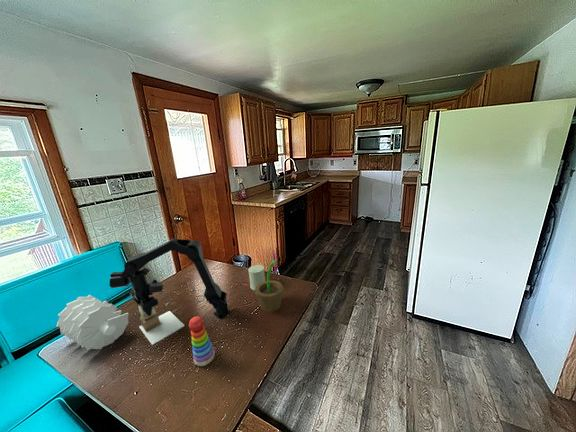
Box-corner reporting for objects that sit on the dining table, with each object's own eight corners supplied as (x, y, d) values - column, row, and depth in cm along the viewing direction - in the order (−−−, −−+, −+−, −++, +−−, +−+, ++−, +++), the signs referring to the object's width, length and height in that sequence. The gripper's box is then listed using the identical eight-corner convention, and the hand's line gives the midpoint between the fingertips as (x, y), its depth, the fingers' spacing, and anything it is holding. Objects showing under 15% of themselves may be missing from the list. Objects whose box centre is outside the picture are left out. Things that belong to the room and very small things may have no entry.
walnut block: (160, 324, 108) (158, 315, 107) (146, 332, 104) (143, 323, 103) (155, 319, 112) (153, 310, 111) (142, 326, 108) (139, 317, 107)
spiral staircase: (105, 360, 96) (74, 341, 106) (139, 320, 108) (108, 306, 118) (70, 343, 84) (39, 323, 94) (112, 300, 96) (80, 286, 106)
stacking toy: (208, 346, 95) (200, 307, 90) (219, 356, 90) (211, 315, 85) (189, 360, 89) (180, 319, 84) (200, 371, 84) (191, 329, 79)
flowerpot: (286, 312, 112) (282, 256, 103) (257, 317, 110) (250, 260, 102) (282, 295, 125) (278, 244, 117) (256, 299, 123) (250, 247, 115)
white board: (184, 326, 107) (184, 325, 107) (152, 345, 97) (151, 344, 97) (169, 311, 118) (169, 310, 118) (139, 327, 108) (139, 326, 108)
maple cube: (144, 319, 103) (141, 310, 102) (140, 315, 106) (138, 306, 105) (156, 313, 107) (153, 304, 105) (152, 309, 110) (149, 300, 109)
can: (247, 289, 133) (245, 271, 129) (254, 281, 141) (252, 263, 138) (262, 291, 130) (260, 272, 127) (268, 282, 138) (266, 264, 135)
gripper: (166, 282, 102) (174, 311, 106) (152, 270, 114) (158, 297, 118) (138, 294, 94) (147, 325, 98) (126, 280, 106) (134, 308, 110)
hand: (148, 313), depth 106 cm, fingers closed on maple cube, 5 cm apart
